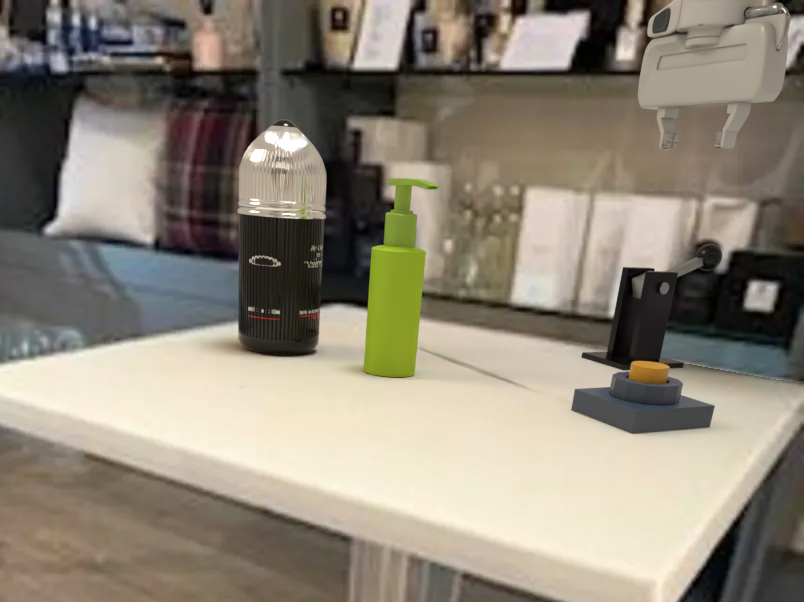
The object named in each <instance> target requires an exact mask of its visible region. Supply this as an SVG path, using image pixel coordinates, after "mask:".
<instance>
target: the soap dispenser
mask: <svg viewBox="0 0 804 602" xmlns="http://www.w3.org/2000/svg"><path fill="white" fill-rule="evenodd" d="M387 183H388V184H387V186H395V191H394V204H393V209H390V210H389V211H388V212H387V211H386V212H385V220H384V234H383V244H379V245H375V246H372V247H371V253H370V268H369V282H368V298H367V310H366V312H367V313H366V326H365V327H366V328H365V341H364V342H365V343H364V357H363V358H364V360H363V372H365V373H367V374H369V375H374V376H379V377H388V378H407V377H412V376H414V375H415V374H416V364H417V353H418V352H417V351H418V342H419V332H420V320H421V311H422V310H421V309H422V299H423V289H424V288H423V287H424V279H425V278H424V277H425V266H426V256H427V255H426V254H427V251H426V250H424V249H423V248H420V247H416V235H417V224H418V214H416V213H414V210H411V202H412V192H413V191H412V190H413V189H412V187H417V188H420V189H423V190H430V191H431V190H432V191H437V190H438V189H439V187H440V185H439V184H437V183H434V182H432V181H430V180H427V179H422V178H407V177H406V178H405V177H404V178H403V177H401V178H400V177H399V178H389V179H388V181H387Z"/></svg>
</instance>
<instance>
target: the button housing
mask: <svg viewBox="0 0 804 602" xmlns="http://www.w3.org/2000/svg"><path fill="white" fill-rule="evenodd" d="M629 372H630V371H617V372H615V373H612V375H611V382H610V386H608V387H607V386H603V387H602V386H601V387H586V388H585V387H583V388H574V392H573V397H572V403H571V409H570V410H571V411H573V412H576V413H578V414H581V415H583V416H585V417H588V418H591V419H593V420H596V421H598V422H601V423H603V424H607V425H608V426H611V427H614V428H616V429H619V430H622V431H623V432H627V433H629V434H633V435H635V434H647V433H658V432H670V431H672V432H673V431H681V430H694V429H695V430H696V429H706V428H711V424H712V419H713V416H714V413H715V412H714V411H715V408H716V405H715V404H711V403H708V402H704V401H701V400H698V399H695V398H692V397H689V396H685V395H683V394H682V391H683V386H684V382H682V381H681V380H680V379H678V378H675V377H672V376H669V375H668V378H667V382H666V383H665V384H655V383H645V382H639V381H635V380H631V379H628V377H629Z"/></svg>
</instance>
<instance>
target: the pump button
mask: <svg viewBox="0 0 804 602" xmlns="http://www.w3.org/2000/svg"><path fill="white" fill-rule="evenodd" d="M670 370H671V368H670V367H669V366H668V365H665V364H662V363H657V362H650V361H634V362H632V363H631V367H630V370H629V371H628V372H629V377H628V379H631V380H635V381H639V382H645V383H655V384H665V383H666V382H667V378H668V376H669V372H670Z"/></svg>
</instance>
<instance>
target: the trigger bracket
mask: <svg viewBox="0 0 804 602" xmlns="http://www.w3.org/2000/svg"><path fill="white" fill-rule="evenodd" d="M645 272H646V273H645ZM643 273H645V278H644V283H643V288H642V293H641V298H640V299H639V298H634V297H633V289H632V278H634V277H636V276H638V275H641V274H643ZM677 276H678V272H669V271H667V270H664V271H662V270H661V271H660V270H658V271H657V270H655V268H654V267H643V266H642V267H637V266H636V267H635V266H623V267H622V270H621V275H620V281H619V286H618V292H617V297H616V301H615V308H614V313H613V318H612V322H611V328H610V335H609V338H608V345H607V349H606V351H588V352H587V351H585V352H582V353H581V359H585V360H588V361H592V362H595V363H598V364H601V365H605V366H608V367H611V368H614V369H617V370H621V371H630V367H631V363H632V362H634V361H650V362H657V363H662V364H665V365H668V366H669V367H670V369H683V368H684V365H685V362H684V361H683V362H682V361H679V360H676V359H672V358H668V357H665V356H661V355H662V350H663V346H664V341H665V336H666V332H667V326H668V322H669V317H670V312H671V308H672V303H673V299H674V295H675V290H676V285H677V280H678V277H677Z"/></svg>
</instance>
